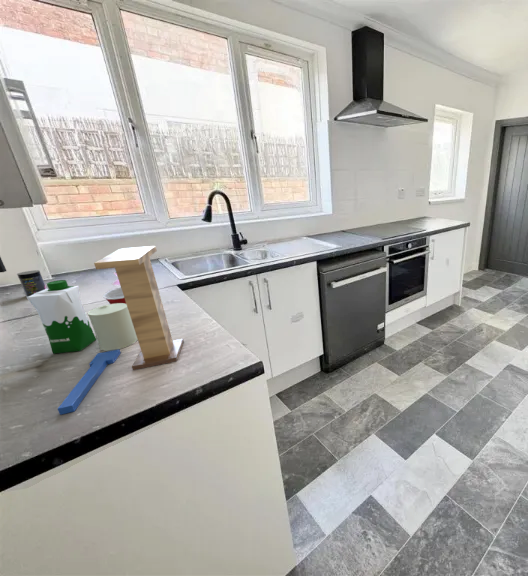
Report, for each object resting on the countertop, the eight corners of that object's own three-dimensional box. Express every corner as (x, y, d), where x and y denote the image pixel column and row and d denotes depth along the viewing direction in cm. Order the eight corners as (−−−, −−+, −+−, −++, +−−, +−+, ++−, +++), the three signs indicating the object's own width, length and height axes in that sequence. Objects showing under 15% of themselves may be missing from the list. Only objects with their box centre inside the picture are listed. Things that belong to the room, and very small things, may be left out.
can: (128, 333, 101) (117, 299, 97) (144, 339, 97) (133, 304, 93) (93, 346, 93) (80, 310, 89) (109, 353, 89) (96, 316, 85)
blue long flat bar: (82, 409, 67) (79, 403, 67) (51, 416, 65) (49, 410, 65) (120, 352, 90) (119, 347, 89) (99, 356, 88) (97, 351, 87)
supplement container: (49, 294, 139) (40, 271, 135) (27, 298, 134) (17, 275, 130) (47, 291, 143) (38, 269, 139) (25, 295, 138) (16, 273, 134)
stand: (174, 369, 81) (142, 258, 71) (127, 378, 78) (88, 263, 68) (184, 340, 96) (159, 245, 86) (145, 347, 92) (115, 248, 82)
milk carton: (101, 338, 98) (80, 278, 92) (81, 352, 90) (56, 288, 83) (69, 341, 97) (45, 280, 90) (46, 356, 88) (17, 290, 82)
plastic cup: (105, 330, 103) (93, 297, 99) (125, 317, 113) (115, 286, 109) (141, 327, 105) (130, 294, 101) (157, 314, 115) (149, 284, 111)
